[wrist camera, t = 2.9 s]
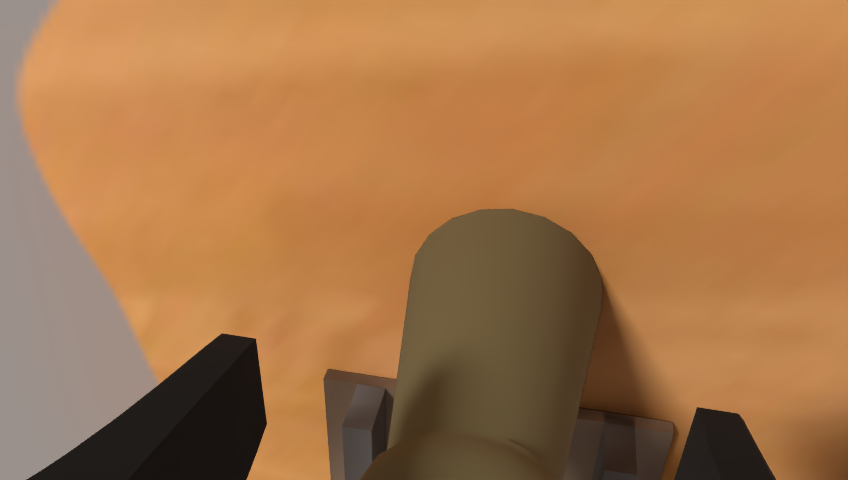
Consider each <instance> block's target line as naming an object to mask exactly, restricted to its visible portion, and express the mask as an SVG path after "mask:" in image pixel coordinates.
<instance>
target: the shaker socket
mask: <svg viewBox="0 0 848 480" xmlns="http://www.w3.org/2000/svg"><path fill="white" fill-rule="evenodd" d="M396 382H397V380H396V379H389V378H383V377H376V376H370V375H363V374H357V373H350V372H344V371H337V370H331V369H328V370H327V372H326V374H325V377H324V390H325V404H326V418H327V432H328V445H329V459H330V473H331V480H359V479H360V478H361V476H362V475H363V473H364V472H365V471H366V469H367V468H368V467H369V466H370V464H371V463H372V462H373V461H374V460H375V458H376V457H377V456H378V455H379V454H380V453H382V452H384V451H386V450H387V448H388V440H389V433H390V426H391V418H392V411H393V404H394V396H395V389H396ZM673 435H674V431H673V422H667V421H661V420H654V419H648V418H641V417H635V416H628V415H622V414H615V413H609V412H602V411H596V410H589V409H583V408H579V410H578V415H577V419H576V424H575V428H574V433H573V437H572V442H571V446H570V450H569V455H568V459H567V464H566V468H565V473H564V477H563V480H660V479H661V476H662V472H663V469H664V466H665V462H666V459H667V455H668V452H669V448H670V445H671V441H672V438H673Z"/></svg>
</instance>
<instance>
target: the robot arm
mask: <svg viewBox="0 0 848 480" xmlns="http://www.w3.org/2000/svg"><path fill="white" fill-rule="evenodd" d="M266 425H267V422H266V414H265V406H264V398H263V391H262V383H261V375H260V367H259V360H258V352H257V344H256V339H254V338H248V337H241V336H235V335H228V334H221V335H219V336H218V337H217V338H216V339H214V340H213V341H212V342H211V343H209V344H208V345H207V346H205V347H204V348H203V349H202V350H201V351H199V352H198V353H197V354H196V355H194V356H193V357H192V358H191V359H190V360H188V361H187V362H186V363H185V364H184V365H182V366H181V367H180V368H179V369H177V370H176V371H175V372H174V373H173V374H171V375H170V376H169V377H168V378H166V379H165V380H164V381H163V382H161V383H160V384H159V385H158V386H157V387H155V388H154V389H153V390H152V391H150V392H149V393H148V394H146V395H145V396H144V397H143V398H141V399H140V400H139V401H137V402H136V403H135V404H134V405H132V406H131V407H130V408H129V409H127V410H126V411H125V412H123V413H122V414H121V415H120V416H118V417H117V418H116V419H114V420H113V421H112V422H110V423H109V424H108V425H106V426H105V427H103V428H102V429H101V430H99V431H98V432H96V433H95V434H94V435H92V436H91V437H90V438H88V439H87V440H85V441H84V442H82V443H81V444H80V445H78V446H77V447H76V448H74V449H73V450H71V451H70V452H68V453H67V454H66V455H64V456H63V457H61V458H60V459H58V460H57V461H55V462H54V463H52V464H51V465H49V466H48V467H46V468H45V469H43V470H41V471H40V472H38V473H37V474H35V475H33V476H32V477H30V478H29V479H27V480H246V479H247V477H248V474H249V471H250V469H251V466H252V464H253V461H254V458H255V456H256V453H257V450H258V447H259V445H260V442H261V439H262V436H263V433H264V430H265V428H266ZM674 480H776V479H775V477H774V475H773V474H772V472H771V470H770V468H769V467H768V465H767V463H766V461H765V459H764V458H763V456H762V454H761V452H760V450H759V448H758V447H757V445H756V443H755V441H754V439H753V437H752V435H751V434H750V432H749V430H748V428H747V426H746V424H745V422H744V420H743V419H742V418H741V417H740V415H739V414H737V413H730V412H724V411H717V410H711V409H705V408H698V407H697V409H696V413H695V416H694V419H693V422H692V425H691V428H690V432H689V435H688V438H687V441H686V444H685V448H684V451H683V454H682V457H681V460H680V463H679V467H678V470H677V473H676V476H675V479H674Z"/></svg>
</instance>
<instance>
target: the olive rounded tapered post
mask: <svg viewBox="0 0 848 480" xmlns="http://www.w3.org/2000/svg"><path fill="white" fill-rule="evenodd" d="M601 308H602V278H601V276H600V273H599V271H598V269H597V266H596V264H595V262H594V259H593V257H592V255H591V254H590V252H589V251H588V250H587V249H586V248H585V247H584V246H583V245H582V244H581V243H580V242H579V241H578V239H577V238H576V237H575V236H574V235H573V234H572V233H571V232H569V231H567V230H565V229H564V228H562V227H560V226H559V225H557V224H555V223H553V222H552V221H550V220H548V219H547V218H545V217H542V216H538V215H534V214H530V213H526V212H522V211H518V210H514V209H490V210H478V211H475V212H472V213H468V214H465V215H462V216H459V217H455V218H452V219H451V220H449V221H448V222H446V223H445V224H444V225H442V226H441V227H439V228H438V229H437V230H435V231H434V232H432V233H431V234H429V236H428V237H427V239H426V240H425V242H424V243H423V245H422V246H421V248H420V249H419V251H418V252H417V254H416V255H415V260H414V264H413V269H412V274H411V279H410V286H409V293H408V301H407V308H406V315H405V323H404V330H403V337H402V345H401V352H400V359H399V367H398V374H397V382H396V389H395V396H394V404H393V411H392V418H391V426H390V433H389V440H388V448H387V450H386V451H384V452H382V453H380V454H379V455H378V456H377V457H376V458H375V460H374V461H373V462H372V463H371V464H370V466H369V467H368V468H367V469H366V471H365V472H364V473H363V475H362V476H361V478H360V479H359V480H563V477H564V473H565V468H566V464H567V459H568V455H569V450H570V446H571V442H572V437H573V433H574V428H575V424H576V419H577V415H578V410H579V406H580V402H581V397H582V393H583V388H584V384H585V379H586V375H587V370H588V366H589V362H590V357H591V353H592V348H593V344H594V339H595V335H596V330H597V326H598V322H599V317H600V313H601Z"/></svg>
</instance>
